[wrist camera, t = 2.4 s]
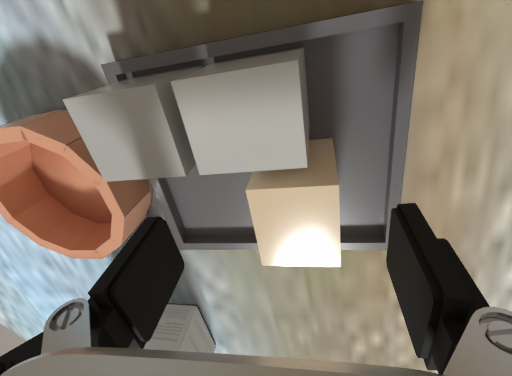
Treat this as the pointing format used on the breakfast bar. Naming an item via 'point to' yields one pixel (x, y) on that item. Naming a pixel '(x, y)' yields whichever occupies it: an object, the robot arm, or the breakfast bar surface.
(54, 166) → the bowl
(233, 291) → the breakfast bar surface
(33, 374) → the robot arm
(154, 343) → the supplement box
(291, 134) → the grey cube
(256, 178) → the beige rectangular block
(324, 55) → the tray
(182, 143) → the grey cube
